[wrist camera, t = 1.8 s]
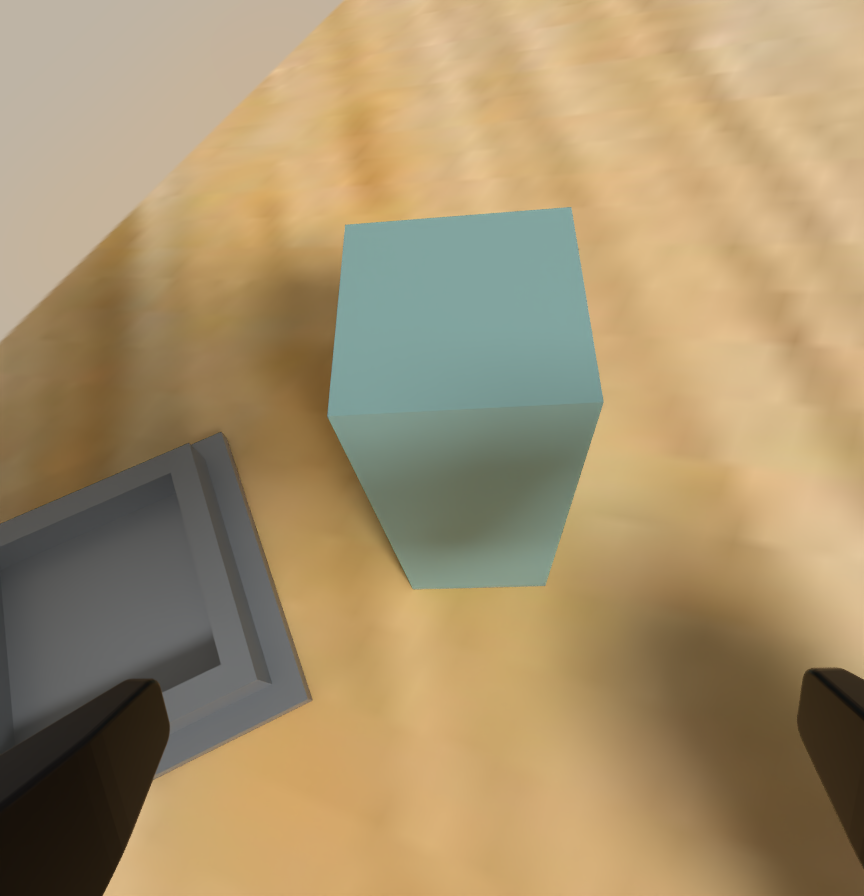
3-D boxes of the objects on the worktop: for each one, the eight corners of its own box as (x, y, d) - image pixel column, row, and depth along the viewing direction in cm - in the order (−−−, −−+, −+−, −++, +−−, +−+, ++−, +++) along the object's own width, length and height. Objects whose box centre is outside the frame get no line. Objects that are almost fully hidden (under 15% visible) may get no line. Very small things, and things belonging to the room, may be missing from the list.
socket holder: (312, 700, 21) (294, 695, 19) (-24, 867, 19) (-79, 880, 17) (226, 438, 26) (206, 414, 24) (-40, 553, 25) (-83, 537, 23)
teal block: (545, 585, 22) (603, 402, 10) (412, 589, 22) (327, 416, 11) (533, 466, 24) (571, 207, 13) (414, 471, 24) (345, 224, 13)
